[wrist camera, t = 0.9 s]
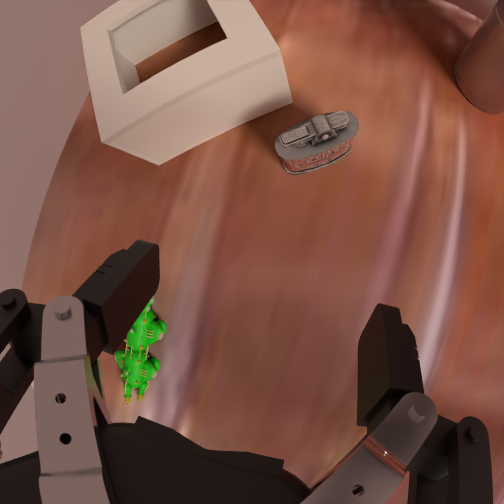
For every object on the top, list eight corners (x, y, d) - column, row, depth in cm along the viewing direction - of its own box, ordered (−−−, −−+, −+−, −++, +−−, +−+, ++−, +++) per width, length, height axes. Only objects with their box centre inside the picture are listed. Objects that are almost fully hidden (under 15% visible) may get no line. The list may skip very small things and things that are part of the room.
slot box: (238, 7, 35) (213, -48, 23) (292, 102, 34) (279, 49, 23) (128, 64, 39) (80, 27, 27) (158, 165, 38) (101, 142, 26)
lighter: (343, 129, 34) (351, 92, 24) (356, 155, 33) (369, 126, 24) (278, 154, 35) (264, 125, 25) (290, 181, 35) (279, 160, 25)
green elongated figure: (179, 284, 39) (163, 290, 34) (158, 403, 40) (143, 417, 36) (134, 269, 40) (115, 273, 36) (119, 385, 42) (103, 397, 37)
